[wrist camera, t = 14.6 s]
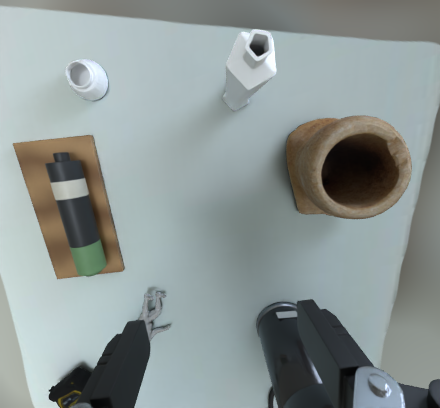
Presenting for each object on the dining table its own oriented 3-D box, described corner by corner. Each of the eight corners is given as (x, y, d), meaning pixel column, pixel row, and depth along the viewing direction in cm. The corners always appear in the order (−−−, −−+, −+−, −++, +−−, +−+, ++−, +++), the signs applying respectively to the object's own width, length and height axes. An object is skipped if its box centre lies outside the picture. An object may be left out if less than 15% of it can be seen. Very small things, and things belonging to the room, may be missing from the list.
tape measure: (82, 359, 40) (70, 379, 37) (108, 380, 42) (99, 401, 38) (57, 377, 41) (42, 399, 37) (84, 397, 42) (72, 420, 39)
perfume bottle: (218, 111, 31) (225, 74, 16) (222, 78, 30) (233, 8, 15) (249, 116, 31) (282, 83, 17) (254, 83, 30) (294, 19, 16)
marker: (35, 154, 28) (50, 152, 26) (68, 153, 31) (84, 150, 29) (72, 276, 32) (88, 282, 30) (98, 263, 36) (113, 267, 34)
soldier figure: (179, 292, 39) (167, 360, 38) (163, 284, 42) (152, 347, 41) (142, 299, 33) (126, 381, 32) (126, 289, 36) (111, 364, 35)
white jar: (115, 74, 29) (80, 53, 29) (104, 66, 26) (65, 42, 26) (100, 108, 30) (66, 88, 29) (89, 103, 27) (51, 81, 27)
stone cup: (265, 133, 32) (311, 116, 17) (342, 113, 32) (453, 79, 17) (283, 224, 36) (332, 274, 21) (352, 207, 35) (450, 245, 21)
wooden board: (124, 268, 36) (122, 271, 36) (60, 276, 36) (57, 279, 35) (92, 135, 31) (89, 134, 30) (17, 143, 31) (12, 143, 30)
